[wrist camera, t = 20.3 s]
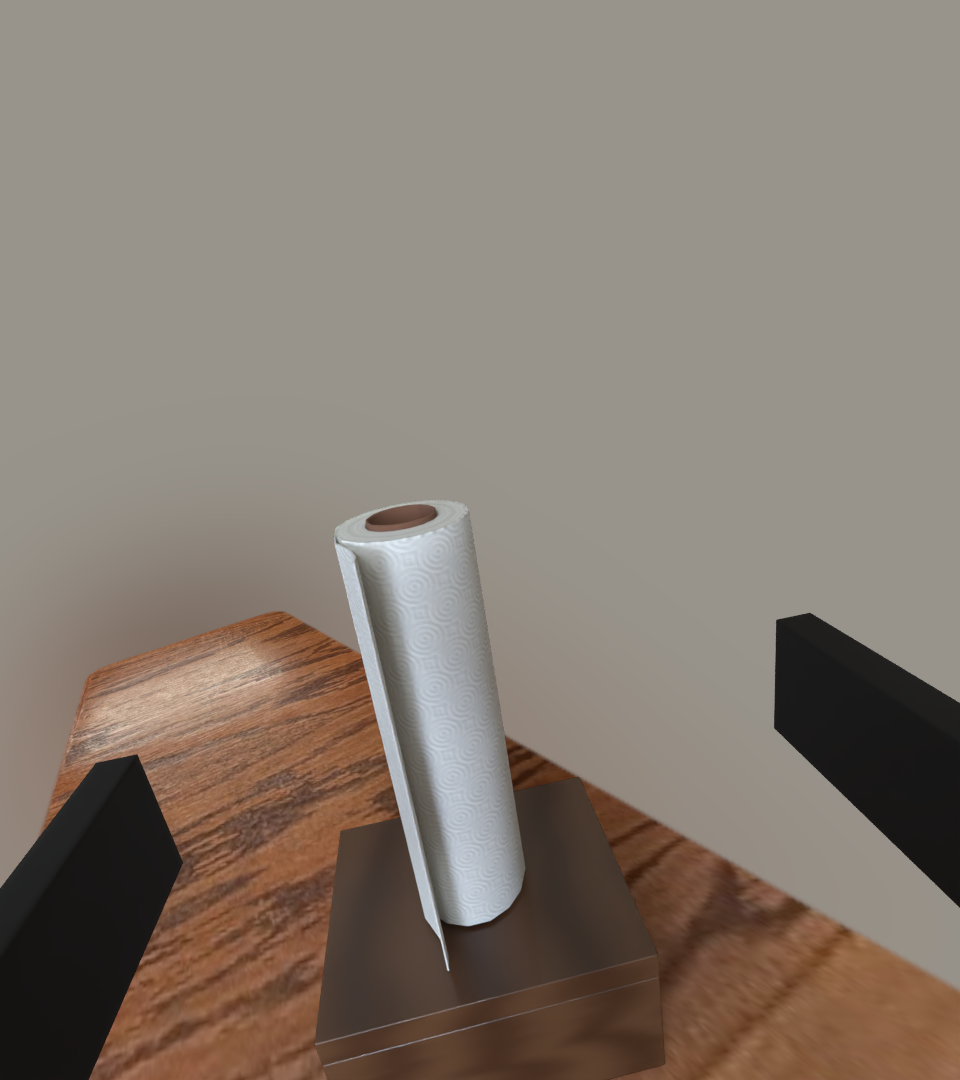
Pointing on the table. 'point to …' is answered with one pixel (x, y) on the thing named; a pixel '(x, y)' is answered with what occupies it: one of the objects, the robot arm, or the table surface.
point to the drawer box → (491, 963)
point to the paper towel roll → (436, 704)
